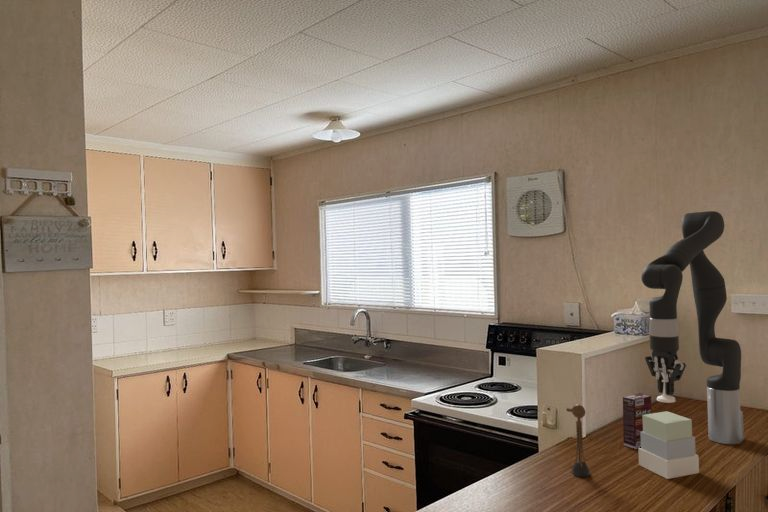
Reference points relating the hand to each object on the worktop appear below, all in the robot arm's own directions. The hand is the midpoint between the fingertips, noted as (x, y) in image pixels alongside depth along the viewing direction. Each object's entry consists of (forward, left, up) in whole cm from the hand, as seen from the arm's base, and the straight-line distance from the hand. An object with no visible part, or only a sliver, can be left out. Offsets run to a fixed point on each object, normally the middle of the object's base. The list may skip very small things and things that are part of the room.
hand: (665, 393), depth 164 cm
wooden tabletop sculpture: (+25, -7, -22) cm, 34 cm away
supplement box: (-6, -19, -22) cm, 30 cm away
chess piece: (0, 0, -2) cm, 2 cm away
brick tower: (0, 0, -22) cm, 22 cm away
